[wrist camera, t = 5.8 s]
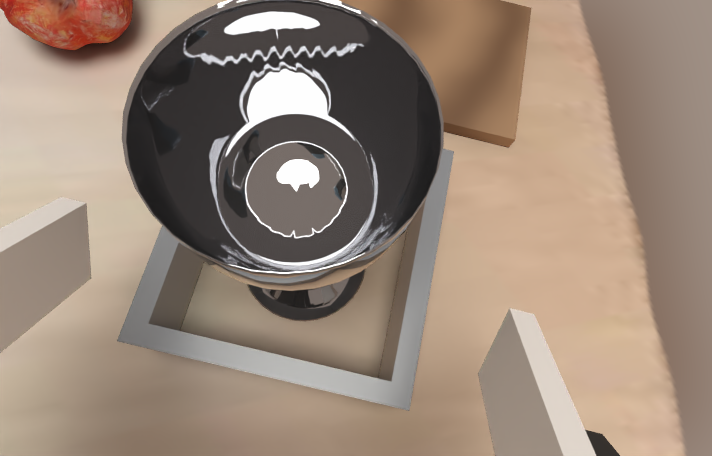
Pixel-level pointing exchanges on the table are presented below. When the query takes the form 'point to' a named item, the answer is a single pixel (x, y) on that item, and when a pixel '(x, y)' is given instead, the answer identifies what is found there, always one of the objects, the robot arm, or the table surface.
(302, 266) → the wine glass
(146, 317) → the square frame
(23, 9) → the pomegranate
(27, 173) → the table surface
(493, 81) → the board
